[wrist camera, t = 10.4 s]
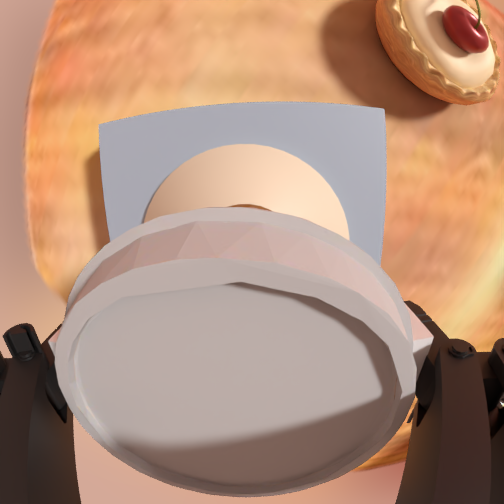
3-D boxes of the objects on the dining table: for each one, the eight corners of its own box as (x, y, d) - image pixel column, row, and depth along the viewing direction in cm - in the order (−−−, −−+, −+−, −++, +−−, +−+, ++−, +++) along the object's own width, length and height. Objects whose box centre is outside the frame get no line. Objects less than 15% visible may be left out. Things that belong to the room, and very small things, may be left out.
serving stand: (351, 328, 24) (366, 358, 20) (154, 334, 24) (139, 364, 20) (362, 116, 18) (387, 107, 14) (124, 128, 19) (95, 124, 14)
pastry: (381, 104, 18) (443, 86, 10) (348, -14, 14) (380, -68, 6) (482, 112, 17) (547, 112, 9) (453, 7, 13) (502, -19, 5)
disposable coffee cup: (221, 346, 19) (196, 509, 7) (138, 229, 16) (-6, 342, 5) (349, 283, 17) (443, 435, 6) (276, 143, 15) (345, 96, 3)
